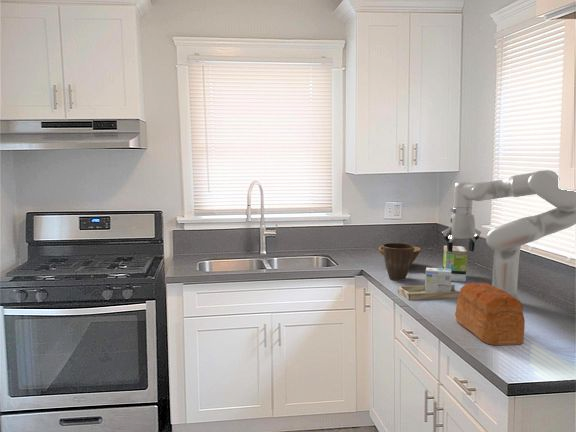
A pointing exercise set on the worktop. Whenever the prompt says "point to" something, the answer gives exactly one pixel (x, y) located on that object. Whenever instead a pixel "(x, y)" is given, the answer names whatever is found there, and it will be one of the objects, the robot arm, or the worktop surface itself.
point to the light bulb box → (437, 280)
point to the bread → (490, 314)
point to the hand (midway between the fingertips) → (460, 251)
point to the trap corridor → (419, 293)
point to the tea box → (455, 262)
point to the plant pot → (398, 259)
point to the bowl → (415, 254)
